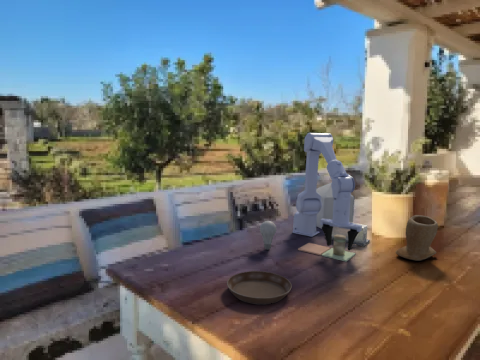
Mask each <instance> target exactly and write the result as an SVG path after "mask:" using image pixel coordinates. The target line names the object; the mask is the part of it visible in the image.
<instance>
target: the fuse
mask: <svg viewBox="0 0 480 360" xmlns="http://www.w3.org/2000/svg"><path fill="white" fill-rule="evenodd" d="M345 241H346V237H345V236H344V235H334V240H333V245H332V246H333V247H332V248H333V254H334V255H337V256H343V255H345V251H346V243H345Z"/></svg>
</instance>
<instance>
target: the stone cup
mask: <svg viewBox="0 0 480 360" xmlns="http://www.w3.org/2000/svg"><path fill="white" fill-rule="evenodd" d="M438 226H439V223H438V222H437V221H436V219H433V218H432V217H430V216H427V215H421V214H420V215H419V214H415V215H413V216H411V217H409V218H408V220H407V223H406V227H405V238H406V245H404V246H403V247H400V248H397V249H396V250H395V254H396V255H398V256H399V257H401V258H404V259H406V260H410V261H417V262H419V261H424V260H426V259H429V258H431V257H432V256H434V255H436V254H437V251H436V250H435V249H433V247H431V245H432V242H433V241H434V239H435V238H436V235H437V233H438V228H439V227H438Z"/></svg>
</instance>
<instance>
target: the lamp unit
mask: <svg viewBox="0 0 480 360" xmlns="http://www.w3.org/2000/svg"><path fill="white" fill-rule="evenodd" d="M350 223H351V222H350ZM353 223H354V224H358V225H362V231H360V232H359V233H358V234H357V236H356V238H355V240H354V242H353V245H355V246H359V247H365V246H367V245H368V244H369V243H370V241H371V239H367V237H368V225H366V224H363V223H362V224H361V223H355V222H353ZM348 231H350V229H344V228H339V227H333V230H332V241H334V235H344V236H345V237H346V241H345V244H348ZM324 238H325V240H326V237H325V236H324Z"/></svg>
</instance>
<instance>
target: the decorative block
mask: <svg viewBox="0 0 480 360" xmlns="http://www.w3.org/2000/svg"><path fill="white" fill-rule="evenodd" d="M331 183H332V182H329V183H327V184H325V185H321V186H319V187H317V189H316V192H317V193H318V194H320V196H321V202H322V208H321V210H320V212H319V213H318V214H317V223H316V228H317V227H318V228H320V229H321V230H322V227H323V225H320V220H321V219H331V220H333V202H334V197H333V195H332V188H331ZM355 200H356V199H355V196H354V195H352V194H351V200H350V215H349V222H351V223H354V213H355Z"/></svg>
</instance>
